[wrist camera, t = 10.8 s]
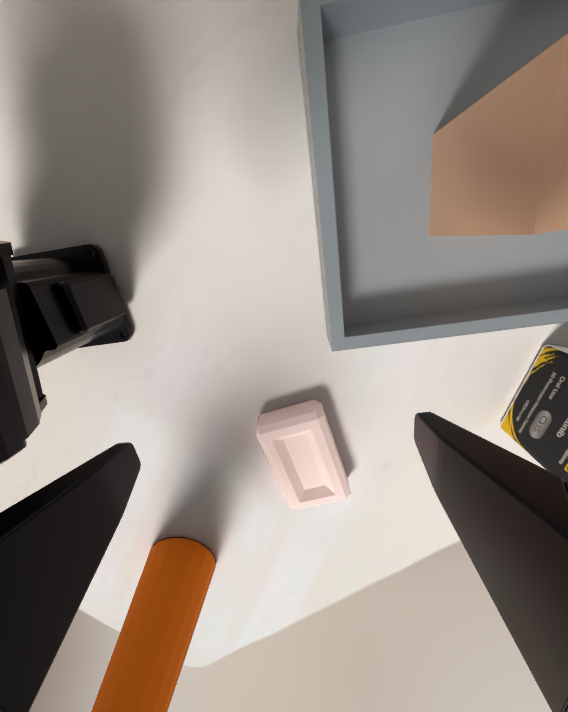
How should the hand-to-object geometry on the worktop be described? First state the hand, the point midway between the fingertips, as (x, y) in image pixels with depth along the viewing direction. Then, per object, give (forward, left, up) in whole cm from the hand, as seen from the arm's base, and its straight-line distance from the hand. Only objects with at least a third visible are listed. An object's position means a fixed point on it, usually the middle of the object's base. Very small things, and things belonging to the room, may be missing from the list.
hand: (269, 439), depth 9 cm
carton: (+12, +7, -11) cm, 18 cm away
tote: (+12, +7, -12) cm, 18 cm away
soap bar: (0, -11, -13) cm, 17 cm away
